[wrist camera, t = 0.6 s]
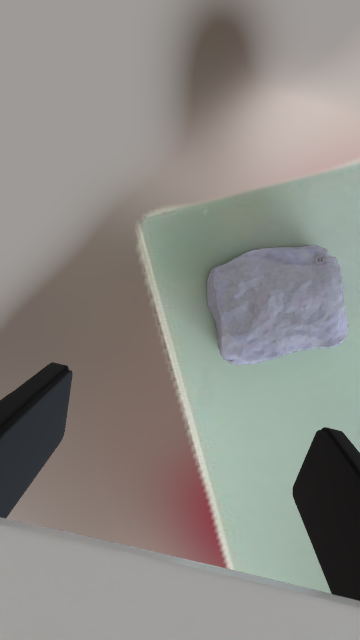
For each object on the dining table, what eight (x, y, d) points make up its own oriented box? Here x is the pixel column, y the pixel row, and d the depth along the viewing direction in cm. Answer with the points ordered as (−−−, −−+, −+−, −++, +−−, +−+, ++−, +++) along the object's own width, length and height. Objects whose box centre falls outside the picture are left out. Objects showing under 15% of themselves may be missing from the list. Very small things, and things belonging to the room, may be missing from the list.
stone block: (198, 270, 28) (220, 363, 28) (198, 261, 23) (225, 374, 23) (313, 240, 27) (336, 337, 27) (339, 225, 22) (366, 342, 22)
